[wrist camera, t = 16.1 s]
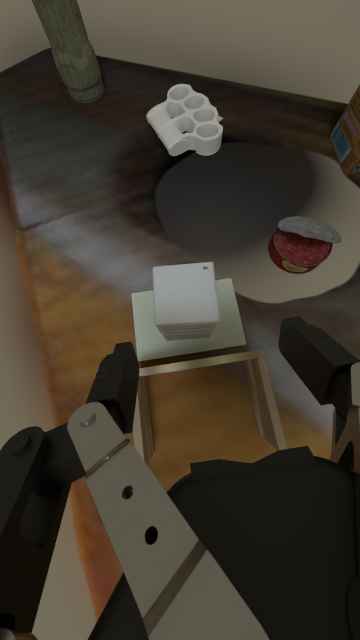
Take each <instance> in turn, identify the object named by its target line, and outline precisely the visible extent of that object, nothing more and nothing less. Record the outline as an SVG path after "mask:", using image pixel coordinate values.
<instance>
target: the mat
mask: <svg viewBox="0 0 360 640" xmlns="http://www.w3.org/2000/svg"><path fill="white" fill-rule="evenodd" d="M215 281H216V287H217V297H218V305H219V313H220V322H219V323H218V325H217V326H216V328H215V329H214V331H213V332H212V334H211V335H210V337H209V338H199V339H187V340H174V341H166V339H165V338H164V337H163V335H162V334H161V332H160V331H159V329H158V328H157V326H156V325H155V312H154V293H153V290H151V291H144V292H138V293H131V296H132V306H133V316H134V326H135V336H136V346H137V356H138V362H139V361H146V360H152V359H159V358H165V357H171V356H178V355H184V354H191V353H197V352H203V351H210V350H216V349H223V348H229V347H235V346H242V345H246V340H245V335H244V331H243V327H242V322H241V318H240V314H239V310H238V305H237V301H236V297H235V292H234V288H233V284H232V279H231V278H228V279H222V280H215Z"/></svg>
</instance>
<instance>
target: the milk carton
mask: <svg viewBox="0 0 360 640" xmlns="http://www.w3.org/2000/svg"><path fill="white" fill-rule="evenodd" d="M328 138H329V140H330V142H331V145H332V147H333V149H334V151H335V153H336V155H337V158H338V160H339V162H340V164H341V166H342V169H343V171H344V173H345V175H352V174H358V173H360V85H359V87H358V89H357V90H356V92H355V94H354V95H353V97H352V99H351V100H350V102H349V104H348V105H347V107H346V109H345V110H344V112H343V114H342V115H341V117H340V119H339V120H338V122H337V124H336V125H335V127H334V129H333V130H332V132H331V134H330V135H329V137H328Z"/></svg>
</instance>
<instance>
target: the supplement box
mask: <svg viewBox="0 0 360 640" xmlns="http://www.w3.org/2000/svg"><path fill="white" fill-rule="evenodd" d="M214 274H215V273H214V264H213V262H205V263H194V264H182V265H170V266H158V267H153V293H154V312H155V325H156V326H157V328H158V329H159V331H160V332H161V334H162V335H163V337H164V338H165V339H166V341H174V340H187V339H199V338H209V337H210V335H211V334H212V332H213V331H214V329H215V328H216V326H217V325H218V323H219V322H220V313H219V305H218V297H217V287H216V281H215V275H214Z"/></svg>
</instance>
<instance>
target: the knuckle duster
mask: <svg viewBox="0 0 360 640" xmlns="http://www.w3.org/2000/svg"><path fill="white" fill-rule="evenodd" d="M171 117H174V118H172V119H171ZM222 119H223V118H222V117H220V116H218V112H217V110H216V108H215V107H213V106H212V105H211V104H210V101H208V98H207V97H206V96H204V95H203V94H200V93H197V92H195V91H193V90H192V88H191V86H190V85H187V84H178V85H175V86H173V87H172V88H170V90H169V91H168V94H167V100H166V101H165V102H163V103H161V104H159V105H157V106H155V107H154V108H152V109H151V110H150V111H149V112H148V113H147V120H148V123H149V124H150V125H151V126H152V128H153V129H154V131H155V132H156V134H157V135H158V138H159V139H160V140H161V141H162V143H163V144H164V146H165V147H166V149H167V150H168V153H169V154H170V155H171V156H177V155H179V154H181V153H183V152H185V151H187V150H189V149H190V150H196V151H197V152H196V153H198V154H200V155H204V156H208V155H212V154H214V153H216V152H217V151H218V150H219V148H220V146H221V139H222V132H223V126H221V125H220V124H219V122H220V121H221V120H222ZM184 131H189V132H190V133H185V134H182V132H184Z"/></svg>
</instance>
